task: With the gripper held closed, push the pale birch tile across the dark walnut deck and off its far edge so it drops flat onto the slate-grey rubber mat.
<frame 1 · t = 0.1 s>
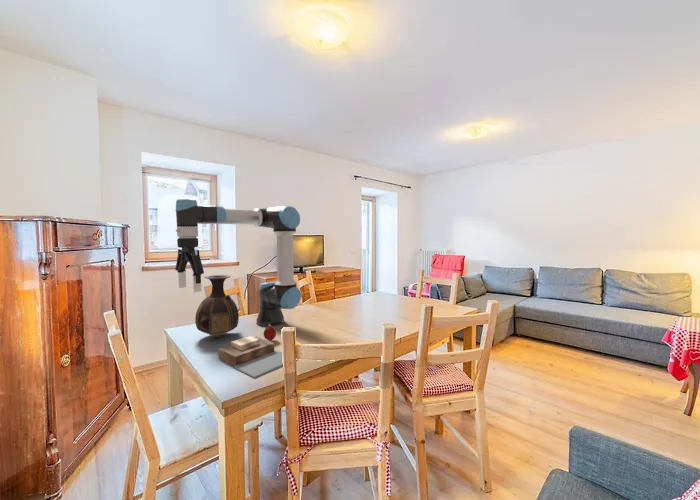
hand: (189, 289, 125), 28 cm above the table, tool pointing down, fingers open, 13 cm apart
deck: (247, 355, 129), on the table
tile: (245, 345, 129), point 4 cm above the table, touching deck
vase: (218, 336, 151), on the table
mat: (266, 363, 120), on the table
onion: (270, 341, 145), on the table
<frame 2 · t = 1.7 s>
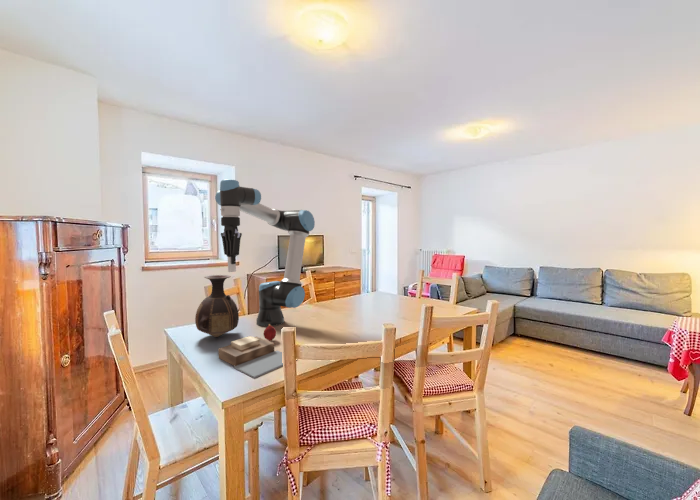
hand: (232, 271, 133), 34 cm above the table, tool pointing down, fingers closed
nothing on the table moved.
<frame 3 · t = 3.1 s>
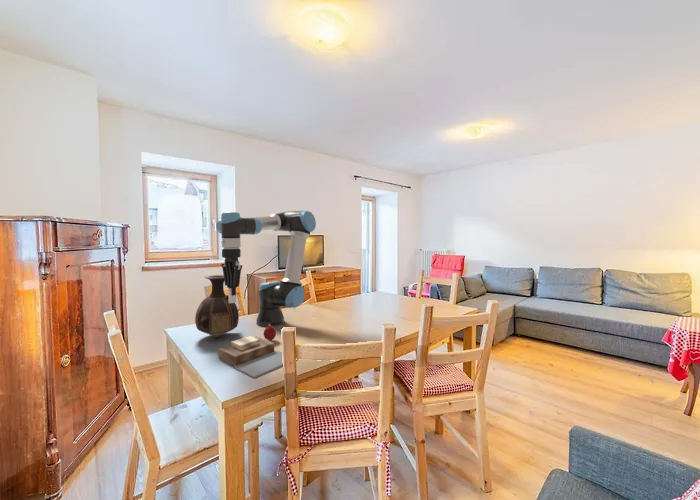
hand: (232, 302, 133), 21 cm above the table, tool pointing down, fingers closed
nothing on the table moved.
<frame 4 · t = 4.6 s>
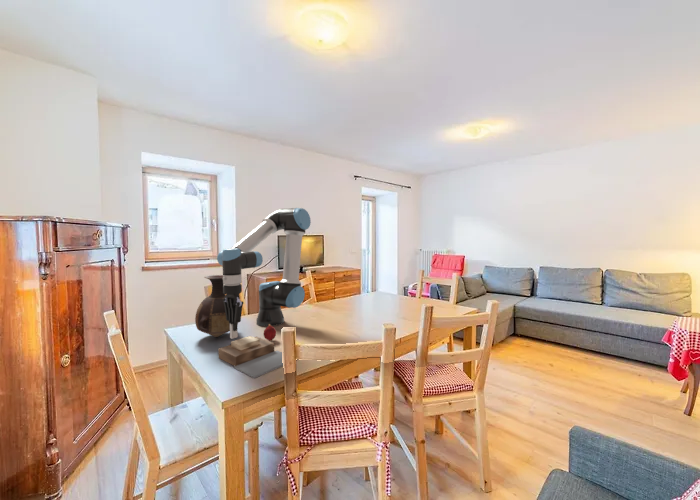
hand: (233, 337, 134), 5 cm above the table, tool pointing down, fingers closed
nothing on the table moved.
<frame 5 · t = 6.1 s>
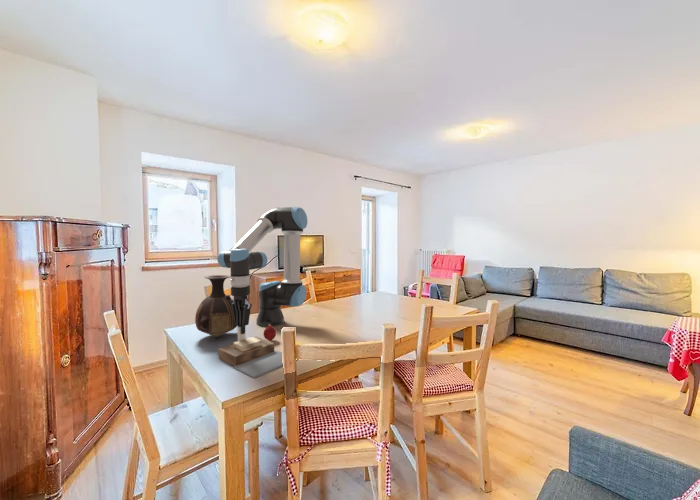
hand: (241, 340, 130), 5 cm above the table, tool pointing down, fingers closed
tile: (247, 346, 128), point 4 cm above the table, touching deck, gripper
everything else where it was.
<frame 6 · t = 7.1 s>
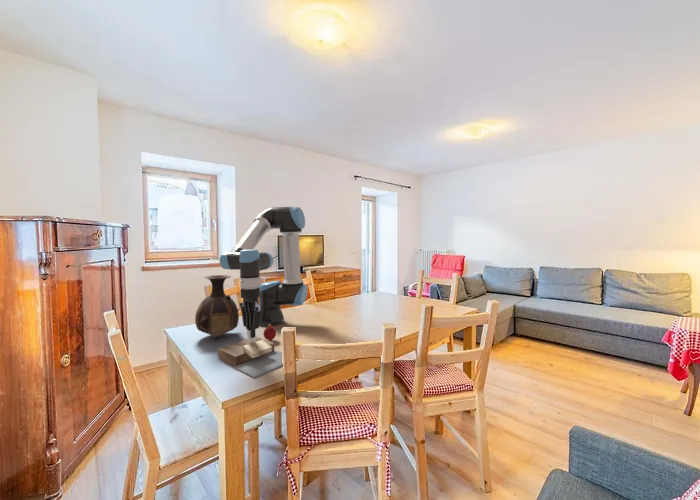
hand: (251, 344, 126), 5 cm above the table, tool pointing down, fingers closed
tile: (257, 350, 123), point 4 cm above the table, tilted 11°, touching deck, gripper
everything else where it was.
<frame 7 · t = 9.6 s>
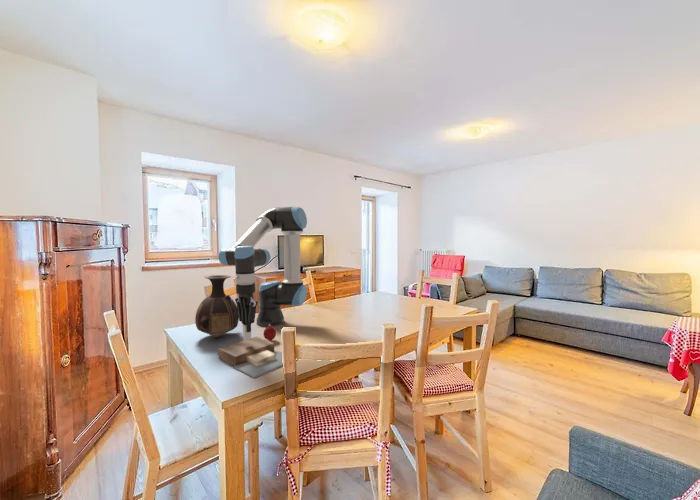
hand: (247, 338, 129), 7 cm above the table, tool pointing down, fingers closed
tile: (261, 360, 122), point 1 cm above the table, touching mat
everything else where it was.
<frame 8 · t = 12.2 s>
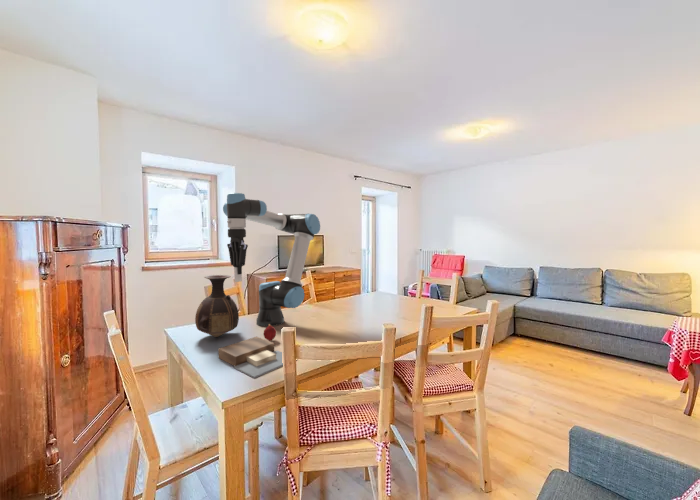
hand: (238, 281, 137), 29 cm above the table, tool pointing down, fingers closed
nothing on the table moved.
at the end: tile inside the target area (3.7 cm from its centre), point 0.6 cm above the table; tile tilted 0°; the gripper is holding nothing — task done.
